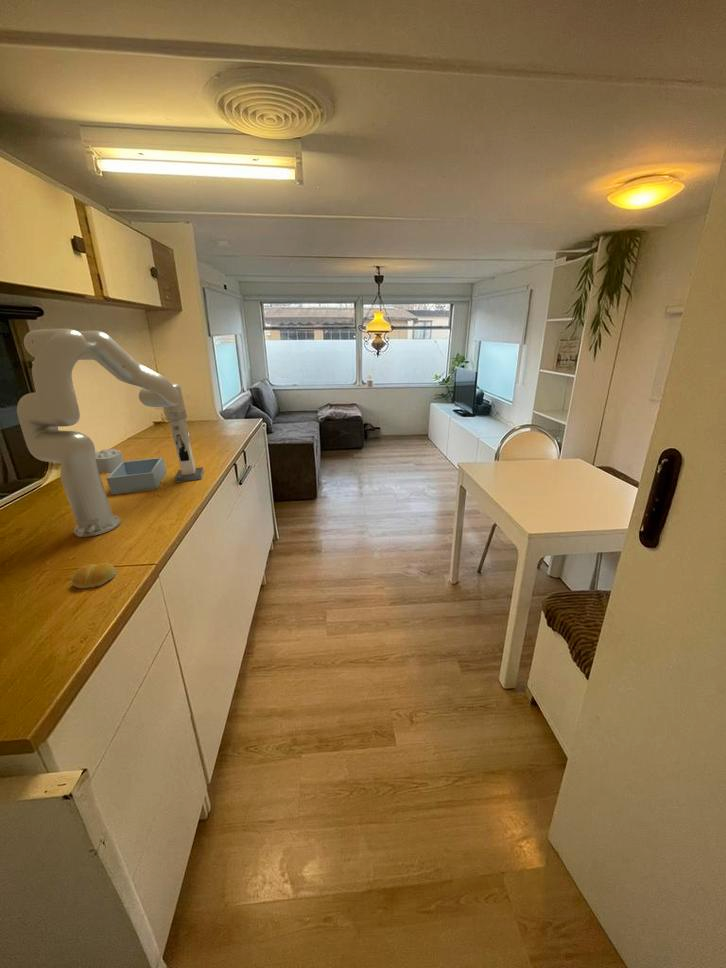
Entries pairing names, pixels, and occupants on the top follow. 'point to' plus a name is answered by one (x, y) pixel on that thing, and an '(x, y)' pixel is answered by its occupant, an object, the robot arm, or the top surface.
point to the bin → (136, 476)
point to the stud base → (189, 475)
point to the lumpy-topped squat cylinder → (108, 460)
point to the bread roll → (93, 575)
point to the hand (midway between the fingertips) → (186, 458)
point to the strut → (187, 466)
